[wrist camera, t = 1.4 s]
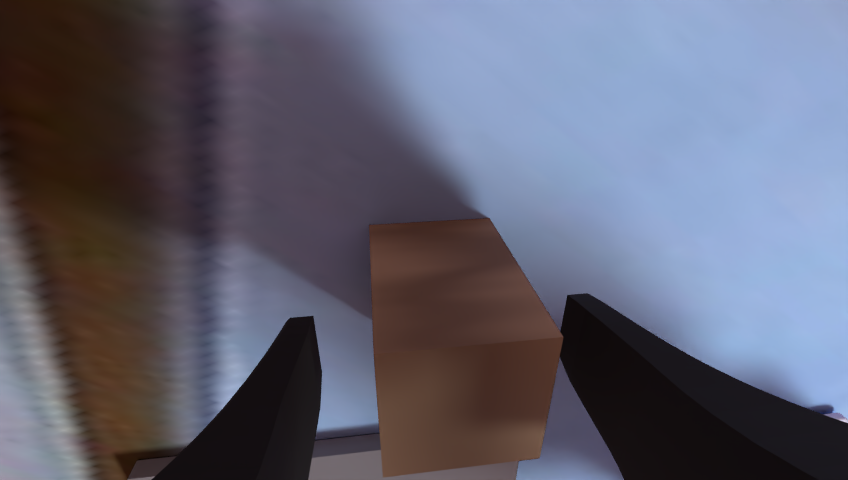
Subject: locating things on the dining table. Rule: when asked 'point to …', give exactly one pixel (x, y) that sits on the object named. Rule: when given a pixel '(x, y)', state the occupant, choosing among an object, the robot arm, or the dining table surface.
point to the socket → (355, 464)
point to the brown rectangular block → (457, 348)
